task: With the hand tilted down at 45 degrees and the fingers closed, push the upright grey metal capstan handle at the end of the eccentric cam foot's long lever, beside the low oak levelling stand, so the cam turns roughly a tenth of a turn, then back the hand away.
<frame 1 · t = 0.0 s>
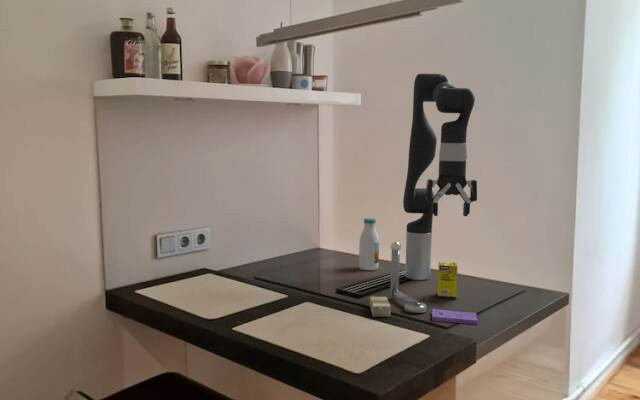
hand: (450, 215, 159), 29 cm above the counter, tool pointing down, fingers open, 8 cm apart
supplement box: (446, 296, 182), on the counter
sponges: (454, 321, 160), on the counter
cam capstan: (406, 275, 171), point 9 cm above the counter, hinge at 0.0°
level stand: (379, 311, 165), on the counter
milk bottle: (368, 269, 220), on the counter
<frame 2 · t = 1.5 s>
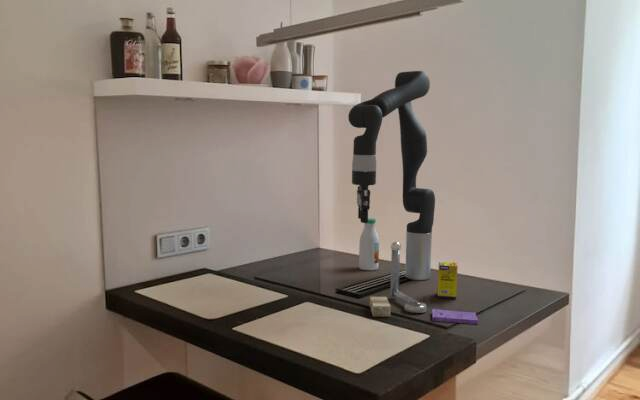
hand: (362, 220, 176), 25 cm above the counter, tool pointing down, fingers open, 8 cm apart
nothing on the counter moved.
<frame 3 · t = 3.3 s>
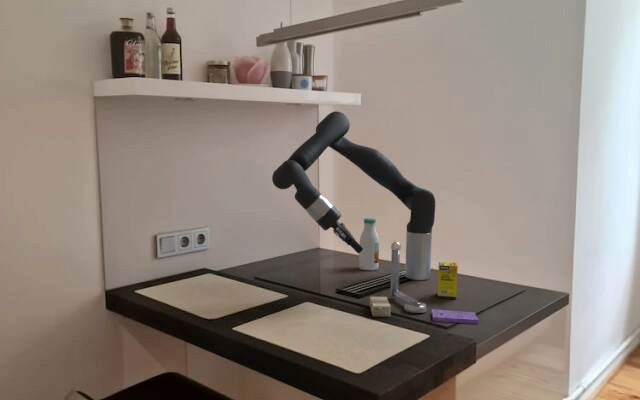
hand: (360, 251, 177), 15 cm above the counter, tool tilted 45°, fingers closed
nothing on the counter moved.
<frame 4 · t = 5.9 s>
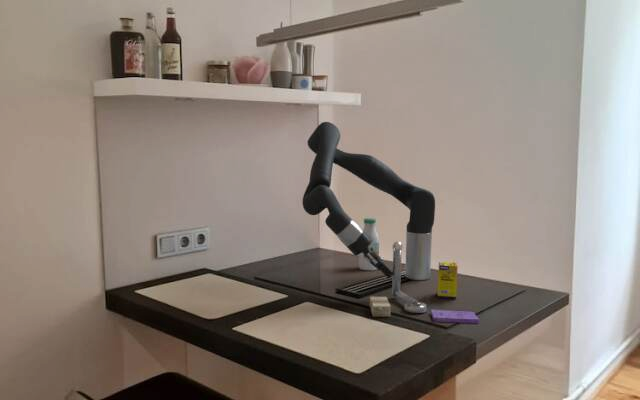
hand: (390, 275, 178), 7 cm above the counter, tool tilted 45°, fingers closed
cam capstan: (407, 275, 171), point 9 cm above the counter, hinge at 2.4°, touching gripper
everything else where it was.
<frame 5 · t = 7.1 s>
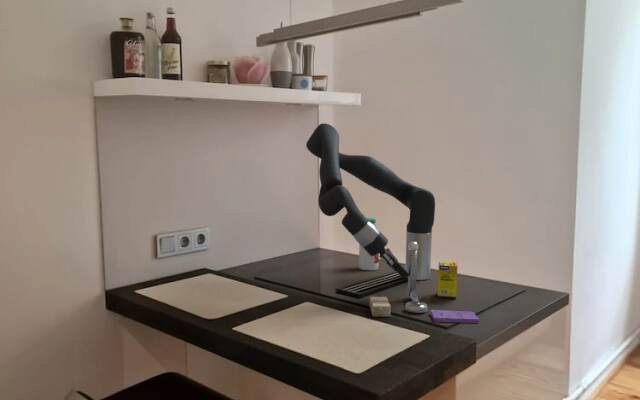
hand: (406, 276, 179), 7 cm above the counter, tool tilted 45°, fingers closed
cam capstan: (415, 275, 171), point 9 cm above the counter, hinge at 23.6°, touching gripper
everything else where it was.
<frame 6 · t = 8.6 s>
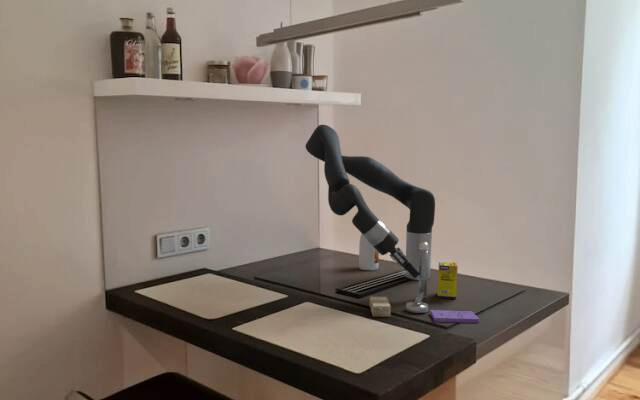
hand: (417, 275, 178), 8 cm above the counter, tool tilted 45°, fingers closed
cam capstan: (420, 275, 171), point 9 cm above the counter, hinge at 37.5°, touching gripper
everything else where it was.
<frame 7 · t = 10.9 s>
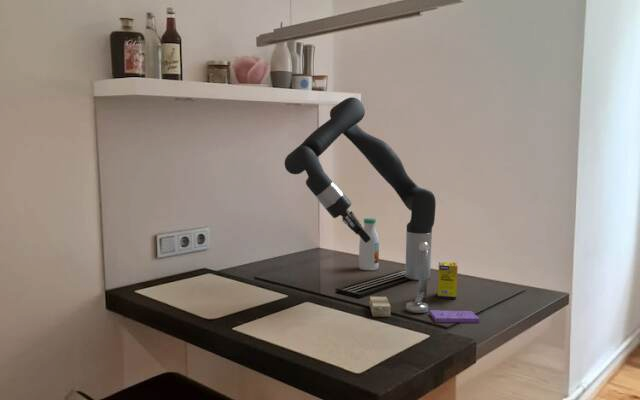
hand: (368, 240, 178), 19 cm above the counter, tool tilted 40°, fingers closed
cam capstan: (420, 275, 171), point 9 cm above the counter, hinge at 37.6°
everything else where it was.
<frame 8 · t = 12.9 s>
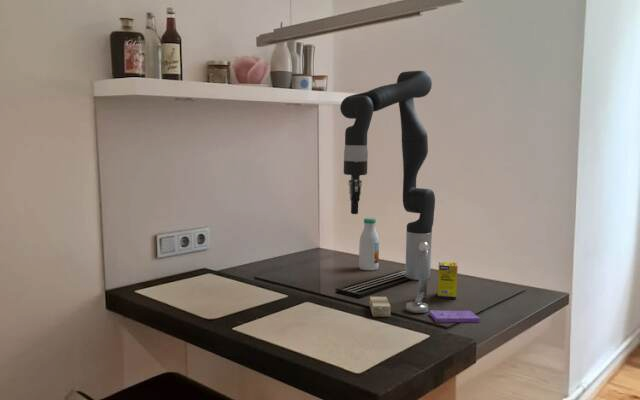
hand: (354, 213, 178), 27 cm above the counter, tool pointing down, fingers closed
at the end: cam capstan at +38° (first picture: +0°); the gripper is holding nothing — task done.
